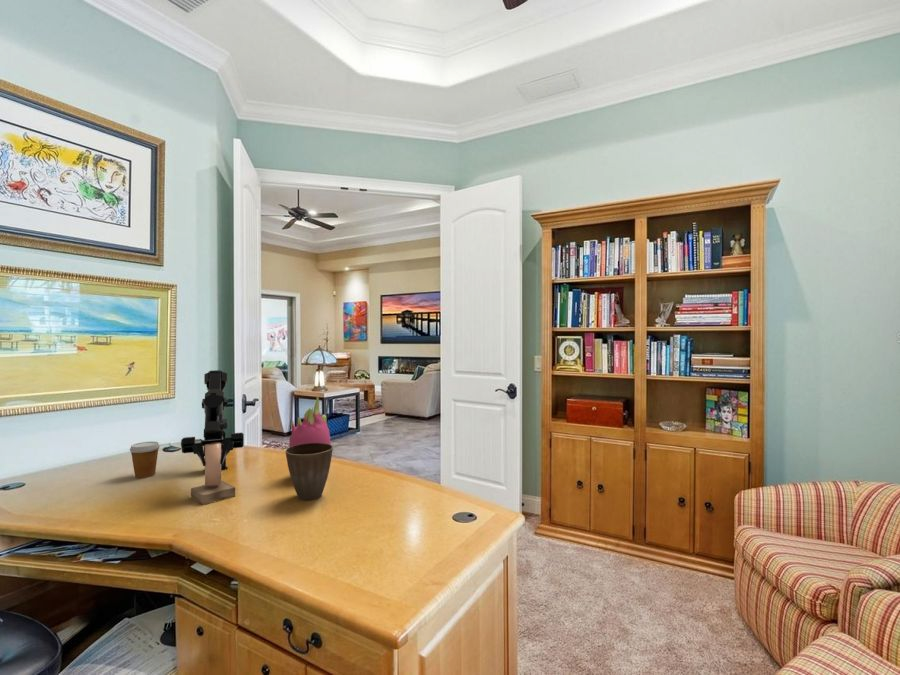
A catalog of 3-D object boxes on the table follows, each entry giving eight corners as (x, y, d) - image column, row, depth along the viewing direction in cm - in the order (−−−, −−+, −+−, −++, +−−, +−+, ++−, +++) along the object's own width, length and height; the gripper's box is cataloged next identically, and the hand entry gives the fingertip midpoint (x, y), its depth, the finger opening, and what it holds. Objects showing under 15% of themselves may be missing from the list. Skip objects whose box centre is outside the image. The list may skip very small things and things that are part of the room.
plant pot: (319, 506, 139) (319, 455, 139) (276, 503, 142) (275, 453, 142) (340, 490, 154) (340, 443, 154) (301, 487, 157) (300, 441, 157)
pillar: (211, 480, 151) (211, 442, 151) (224, 481, 151) (224, 442, 151) (201, 485, 147) (201, 445, 147) (215, 486, 146) (215, 446, 146)
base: (222, 489, 155) (222, 480, 155) (235, 496, 148) (235, 487, 148) (190, 497, 148) (190, 488, 147) (202, 504, 141) (202, 495, 141)
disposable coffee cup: (148, 479, 165) (148, 447, 165) (123, 479, 166) (123, 447, 166) (165, 471, 175) (165, 441, 175) (141, 471, 175) (141, 441, 175)
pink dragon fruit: (316, 467, 181) (315, 392, 180) (340, 472, 174) (340, 395, 173) (279, 479, 165) (278, 398, 165) (304, 485, 158) (304, 401, 158)
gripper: (181, 413, 148) (177, 455, 138) (243, 409, 156) (244, 448, 146) (183, 432, 155) (180, 473, 145) (243, 427, 163) (244, 465, 154)
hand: (212, 464), depth 148 cm, fingers closed on pillar, 5 cm apart
